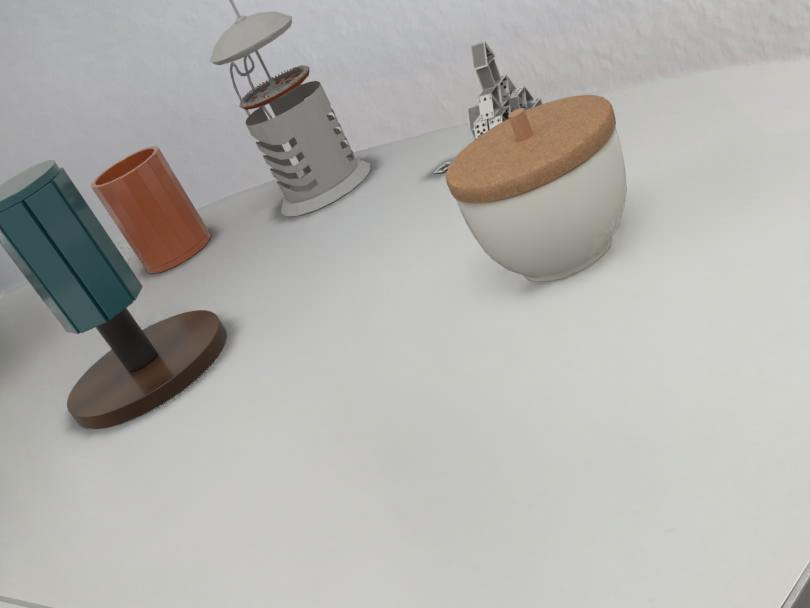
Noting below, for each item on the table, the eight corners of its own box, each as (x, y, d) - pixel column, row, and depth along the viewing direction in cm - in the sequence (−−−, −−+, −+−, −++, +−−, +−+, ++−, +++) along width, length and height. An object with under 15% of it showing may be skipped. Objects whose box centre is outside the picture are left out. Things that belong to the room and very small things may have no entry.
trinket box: (606, 196, 69) (562, 55, 62) (676, 238, 60) (633, 80, 54) (471, 272, 69) (414, 139, 63) (522, 324, 61) (462, 176, 55)
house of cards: (469, 127, 91) (435, 39, 86) (553, 103, 86) (523, 8, 81) (431, 176, 86) (392, 85, 81) (518, 152, 81) (483, 55, 76)
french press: (310, 220, 91) (147, -91, 74) (256, 212, 99) (99, -69, 83) (389, 162, 93) (248, -151, 77) (330, 159, 101) (192, -124, 85)
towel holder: (51, 415, 82) (-89, 246, 72) (175, 317, 87) (60, 144, 77) (122, 441, 73) (-27, 249, 63) (257, 329, 77) (138, 133, 67)
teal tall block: (56, 330, 77) (-36, 209, 70) (118, 282, 79) (34, 161, 73) (89, 336, 73) (-6, 208, 66) (154, 286, 75) (68, 157, 68)
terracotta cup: (135, 272, 101) (79, 188, 95) (188, 232, 104) (136, 147, 98) (168, 275, 96) (111, 186, 90) (223, 232, 99) (171, 143, 93)
